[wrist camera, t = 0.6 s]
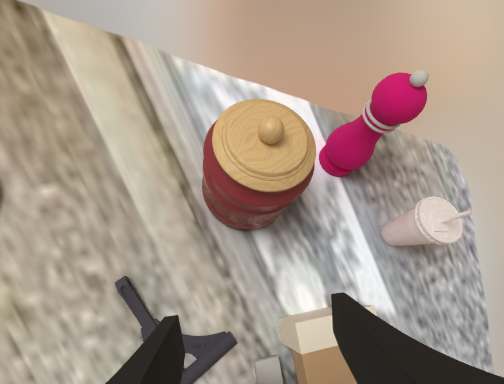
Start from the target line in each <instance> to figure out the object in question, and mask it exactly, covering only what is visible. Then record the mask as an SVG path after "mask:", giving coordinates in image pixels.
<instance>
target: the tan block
mask: <svg viewBox="0 0 504 384" xmlns="http://www.w3.org/2000/svg"><path fill="white" fill-rule="evenodd" d="M362 306H363V307H365V308H366V309H367V310H369V311H370V312H372V313H373V314H375V315H376V316H377V314H376V310H375V307H374V306H370V305H362ZM278 324H279V329H280V335H281V340H282V344H284V345H286V346H287V347H289V348H291V349H292V354H293V359H294V364H295V369H296V374H297V379H298V384H357V382H356V380H355V378H354V376H353V375H352V373H351V371H350V369H349V367H348V365H347V363H346V361H345V359H344V357H343V355H342V353H341V351H340V349H339V346H338V344H337V341H336V338H335V336H334V333H333V324H332V307H328V308H323V309H319V310H314V311H309V312H305V313H300V314H295V315H291V316H286V317H281V318H278Z"/></svg>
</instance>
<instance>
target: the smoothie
mask: <svg viewBox="0 0 504 384" xmlns="http://www.w3.org/2000/svg"><path fill="white" fill-rule="evenodd" d="M472 214H474V211H473V210H468V211H465V212H462V213H458V211H457V210H456V209H455V207H454V206H453V205H452V204H450V203H449V202H448V201H446V200H445V199H442V198H440V197H428V198H425V199H423V200H421V201H419V202H418V203H417V205H416V206H415V207H414V208H412V209H410V210H409V211H407V212H406V213H404V214H402V215H401V216H399V217H397V218H396V219H394V220H392V221H391V222H389V223H388V224H386V225H384V226H383V228H382V231H381V233H382V237H383V239H384V241H385V242H386V243H387V244H389V245H390V246H406V245H419V244H433V243H436V244H439V245H448V244H450V243H454V242H456V241H458V240H459V239H460V237H461V235H462V232H463V224H462V220H461V218H462V217H466V216H469V215H472Z"/></svg>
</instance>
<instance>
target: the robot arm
mask: <svg viewBox="0 0 504 384" xmlns="http://www.w3.org/2000/svg"><path fill="white" fill-rule="evenodd" d="M331 298H332V324H333V333H334V336H335V338H336V341H337V344H338V346H339V349H340V351H341V353H342V355H343V357H344V359H345V361H346V363H347V365H348V367H349V369H350V371H351V373H352V375H353V376H354V378H355V380H356V382H357V384H504V378H503V377H500V376H497V375H494V374H491V373H489V372H486V371H483V370H481V369H478V368H475V367H473V366H470V365H468V364H465V363H463V362H460V361H458V360H456V359H454V358H451V357H449V356H447V355H445V354H443V353H440V352H438V351H436V350H434V349H432V348H430V347H428V346H426V345H424V344H422V343H420V342H418V341H417V340H415V339H413V338H411V337H409V336H408V335H406V334H404V333H402V332H401V331H399V330H398V329H396V328H394V327H393V326H391V325H389V324H388V323H386V322H385V321H383V320H382V319H380V318H379V317H377V316H376V315H375V314H373V313H372V312H370V311H369V310H367V309H366V308H365V307H363V306H362V305H361V304H359V303H358V302H356V301H355V300H354V299H352V298H351V297H350V296H348V295H347V294H345V293H337V294H331ZM184 358H185V349H184V343H183V338H182V333H181V328H180V323H179V318H178V315H175V316H167V317H164V318H163V320H162V321H161V322H160V323H159V324H158V325H157V327H156V328H155V329H154V330H153V332H152V333H151V334H150V335H149V336H148V338H147V339H146V340H145V341H144V343H143V344H142V345H141V346H140V347H139V348H138V350H137V351H136V352H135V353H134V354H133V355H132V356H131V357H130V359H129V360H128V361H127V362H126V363H125V364H124V365H123V366H122V367H121V368H120V369H119V371H118V372H117V373H116V374H115V375H114V376H113V377H112V378H111V379H110V380H109V381H108V382H106V383H105V384H180V383H181V379H182V373H183V366H184Z"/></svg>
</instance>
